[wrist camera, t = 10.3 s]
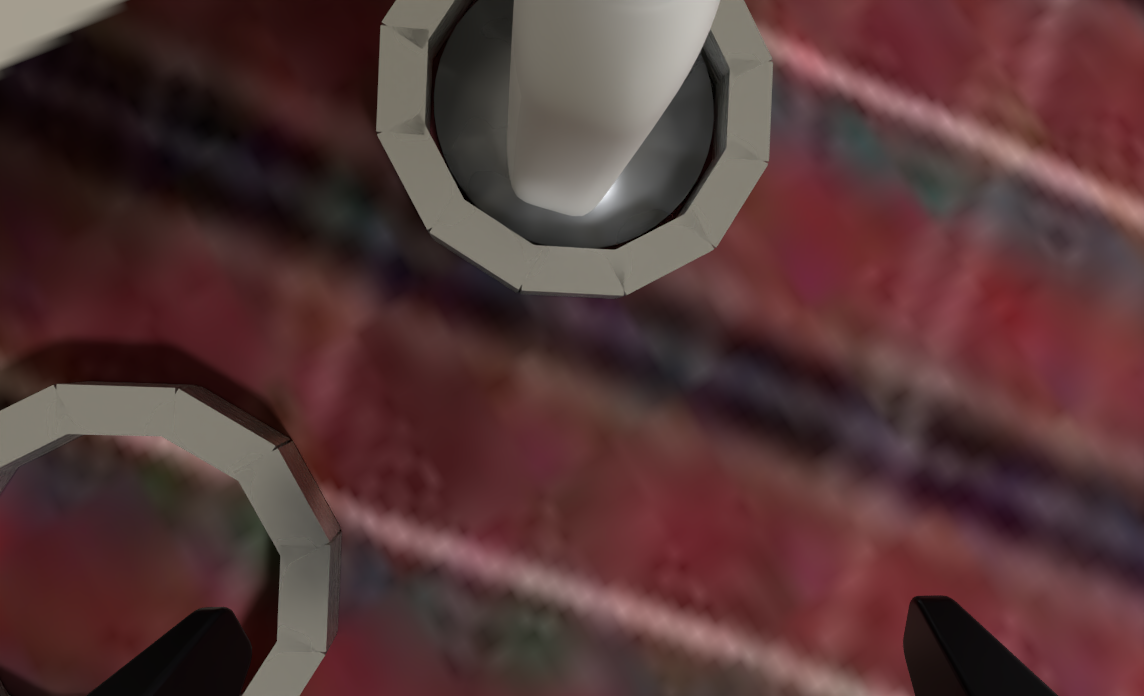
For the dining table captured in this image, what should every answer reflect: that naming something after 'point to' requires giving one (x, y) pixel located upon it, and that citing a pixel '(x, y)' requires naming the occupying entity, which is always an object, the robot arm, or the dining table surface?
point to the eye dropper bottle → (592, 90)
